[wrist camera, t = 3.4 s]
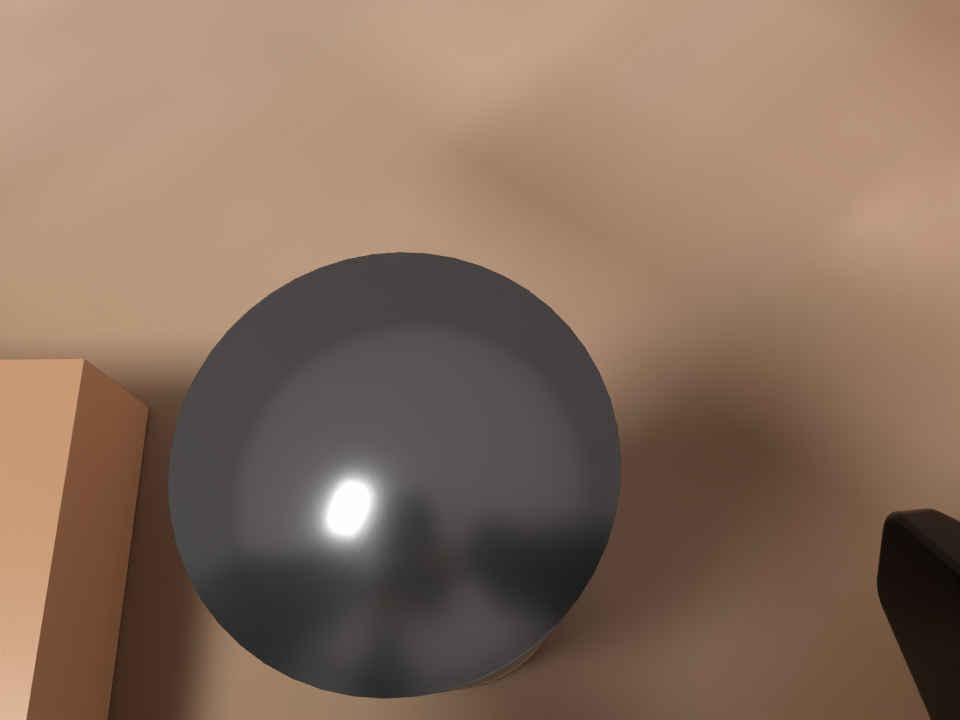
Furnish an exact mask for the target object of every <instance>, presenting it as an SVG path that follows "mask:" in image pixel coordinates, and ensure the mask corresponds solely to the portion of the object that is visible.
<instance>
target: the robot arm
mask: <svg viewBox="0 0 960 720" xmlns="http://www.w3.org/2000/svg"><path fill="white" fill-rule="evenodd" d="M877 590H878V596H879V599H880V603H881V605H882V608H883V610H884V612H885V615H886V617H887V619H888V622H889V624H890V626H891V629H892V631H893V633H894V636H895V638H896V640H897V643H898V645H899V647H900V650H901V652H902V654H903V656H904V659H905V661H906V663H907V666H908V668H909V670H910V673H911V675H912V677H913V680H914V682H915V684H916V687H917V689H918V691H919V694H920V696H921V698H922V701H923V703H924V705H925V707H926V710H927V712H928V714H929V717H930V719H931V720H960V521H958V520H956V519H954V518H952V517H950V516H947V515H945V514H943V513H941V512H939V511H937V510H934V509H928V508H926V509H916V510H906V511H897V512H893V513H891V514H890V515H889V516H887V518H886V520H885V522H884V526H883V533H882V541H881V549H880V557H879V565H878V574H877Z"/></svg>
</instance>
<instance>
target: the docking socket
mask: <svg viewBox="0 0 960 720" xmlns="http://www.w3.org/2000/svg"><path fill="white" fill-rule="evenodd" d="M148 410H149V407H148V406H146V405H145V404H144V403H142V402H141V401H140V400H138V399H137V398H136V397H134V396H133V395H132V394H130V393H129V392H128V391H126V390H125V389H124V388H122V387H121V386H120V385H118V384H117V383H116V382H114V381H113V380H112V379H110V378H109V377H108V376H106V375H105V374H104V373H102V372H101V371H100V370H98V369H97V368H96V367H94V366H93V365H92V364H90V363H89V362H88V361H86V360H85V359H22V360H0V720H108V714H109V706H110V699H111V691H112V683H113V676H114V668H115V661H116V653H117V645H118V638H119V630H120V623H121V615H122V608H123V600H124V592H125V585H126V577H127V570H128V562H129V554H130V547H131V539H132V532H133V524H134V516H135V509H136V501H137V494H138V486H139V479H140V471H141V463H142V456H143V448H144V441H145V433H146V425H147V418H148Z"/></svg>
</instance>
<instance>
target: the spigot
mask: <svg viewBox="0 0 960 720" xmlns="http://www.w3.org/2000/svg"><path fill="white" fill-rule="evenodd" d="M620 463H621V454H620V446H619V437H618V429H617V424H616V420H615V416H614V412H613V408H612V404H611V400H610V397H609V395H608V392H607V390H606V387H605V385H604V382H603V380H602V378H601V375H600V373H599V371H598V369H597V367H596V366H595V364H594V362H593V360H592V359H591V357H590V355H589V353H588V352H587V350H586V348H585V347H584V346H583V344H582V343H581V342H580V340H579V339H578V338H577V336H576V335H575V334H574V332H573V331H572V330H571V328H570V327H569V326H568V325H567V324H566V323H565V322H564V321H563V320H562V319H561V318H560V317H559V316H558V315H557V314H556V313H555V312H554V311H553V310H552V309H551V308H550V307H549V306H548V305H547V304H545V303H544V302H543V301H541V300H540V299H539V298H538V297H536V296H535V295H534V294H532V293H531V292H530V291H529V290H527V289H525V288H524V287H522V286H520V285H518V284H517V283H515V282H513V281H512V280H510V279H508V278H507V277H505V276H503V275H500V274H498V273H496V272H493V271H491V270H489V269H487V268H484V267H482V266H479V265H476V264H473V263H469V262H466V261H462V260H459V259H456V258H451V257H445V256H439V255H433V254H425V253H403V252H399V253H385V254H372V255H367V256H362V257H357V258H352V259H346V260H343V261H340V262H337V263H334V264H331V265H327V266H324V267H321V268H319V269H316V270H314V271H312V272H310V273H307V274H305V275H303V276H301V277H299V278H296V279H294V280H293V281H291V282H289V283H288V284H286V285H284V286H283V287H281V288H279V289H277V290H276V291H274V292H272V293H271V294H270V295H268V296H267V297H266V298H264V299H263V300H262V301H260V302H259V303H258V304H256V305H255V306H254V307H253V308H251V309H250V310H249V311H248V312H247V313H246V314H245V315H244V316H243V317H241V318H240V319H239V320H238V321H237V322H236V323H235V324H234V325H233V326H232V327H231V328H230V329H229V330H228V331H227V333H226V334H225V335H224V336H223V338H222V339H221V340H220V341H219V342H218V344H217V345H216V346H215V347H214V349H213V350H212V351H211V352H210V354H209V356H208V357H207V359H206V360H205V362H204V364H203V365H202V367H201V368H200V370H199V372H198V373H197V375H196V376H195V379H194V381H193V383H192V385H191V387H190V389H189V391H188V394H187V396H186V398H185V400H184V402H183V405H182V408H181V411H180V414H179V418H178V421H177V424H176V427H175V430H174V436H173V441H172V446H171V452H170V457H169V473H168V497H169V510H170V518H171V523H172V527H173V532H174V537H175V541H176V545H177V548H178V551H179V554H180V556H181V559H182V562H183V564H184V567H185V570H186V573H187V574H188V576H189V578H190V580H191V582H192V584H193V586H194V587H195V589H196V591H197V593H198V595H199V597H200V599H201V600H202V601H203V603H204V604H205V605H206V607H207V608H208V609H209V611H210V612H211V614H212V615H213V616H214V618H215V619H216V620H217V622H218V623H219V624H220V625H221V626H222V627H223V628H224V629H225V630H226V631H227V632H228V633H229V634H230V635H231V636H232V637H233V638H234V639H235V640H236V641H237V642H238V643H239V644H240V645H241V646H242V647H244V648H245V649H246V650H248V651H249V652H250V653H252V654H253V655H254V656H256V657H257V658H258V659H259V660H261V661H262V662H263V663H265V664H267V665H269V666H270V667H272V668H274V669H276V670H278V671H279V672H281V673H283V674H285V675H287V676H289V677H290V678H292V679H295V680H298V681H300V682H303V683H306V684H308V685H311V686H314V687H316V688H319V689H322V690H327V691H331V692H336V693H340V694H345V695H350V696H358V697H371V698H399V697H414V696H422V695H428V694H434V693H440V692H446V691H452V690H459V689H465V688H471V687H476V686H480V685H485V684H488V683H490V682H493V681H496V680H499V679H500V678H502V677H504V676H506V675H508V674H510V673H512V672H513V671H514V670H516V669H517V668H519V667H520V666H521V665H523V664H524V663H525V662H526V661H527V660H528V659H529V658H530V657H531V656H532V655H533V654H534V653H535V652H536V650H537V649H538V648H539V647H540V645H541V644H542V643H543V642H544V640H545V639H546V638H547V637H548V635H549V634H550V633H551V632H552V630H553V629H554V628H555V627H556V625H557V624H558V623H559V622H560V620H561V619H562V618H563V617H564V615H565V614H566V613H567V612H568V610H569V609H570V608H571V607H572V605H573V604H574V603H575V602H576V600H577V599H578V598H579V596H580V595H581V593H582V591H583V590H584V588H585V586H586V585H587V583H588V582H589V580H590V578H591V577H592V575H593V573H594V572H595V570H596V567H597V565H598V563H599V561H600V558H601V556H602V554H603V552H604V549H605V547H606V545H607V542H608V539H609V535H610V532H611V529H612V525H613V522H614V518H615V515H616V509H617V502H618V496H619V489H620Z"/></svg>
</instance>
